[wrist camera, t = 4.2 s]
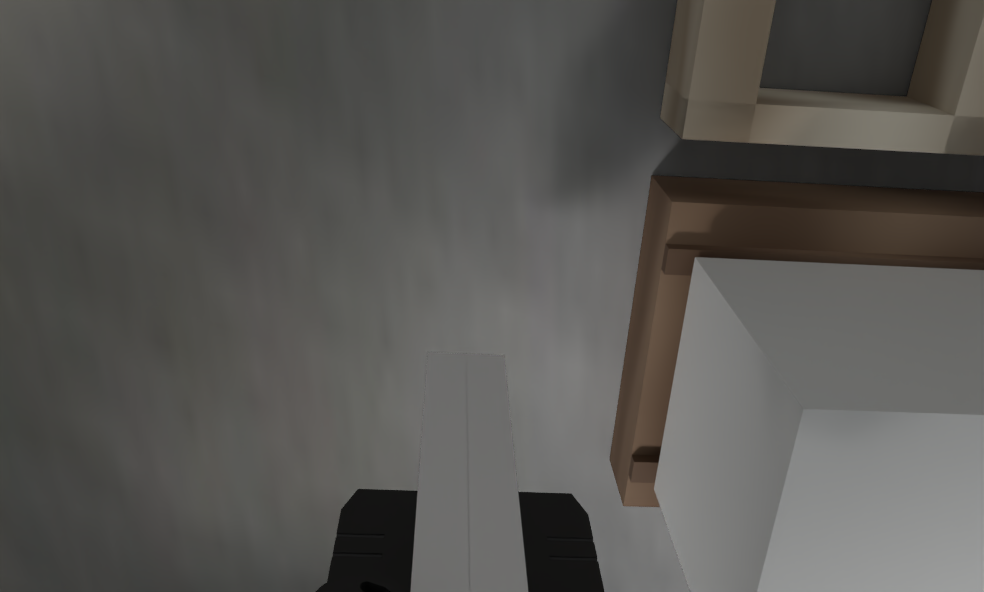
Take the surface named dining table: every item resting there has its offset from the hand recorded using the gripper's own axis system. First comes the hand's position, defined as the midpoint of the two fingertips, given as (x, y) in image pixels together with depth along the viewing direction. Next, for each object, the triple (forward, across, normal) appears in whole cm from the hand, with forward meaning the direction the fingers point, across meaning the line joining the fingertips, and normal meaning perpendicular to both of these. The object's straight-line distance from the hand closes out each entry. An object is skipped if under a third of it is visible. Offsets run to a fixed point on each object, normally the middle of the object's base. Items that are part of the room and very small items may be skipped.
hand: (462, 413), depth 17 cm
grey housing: (+2, +8, 0) cm, 9 cm away
